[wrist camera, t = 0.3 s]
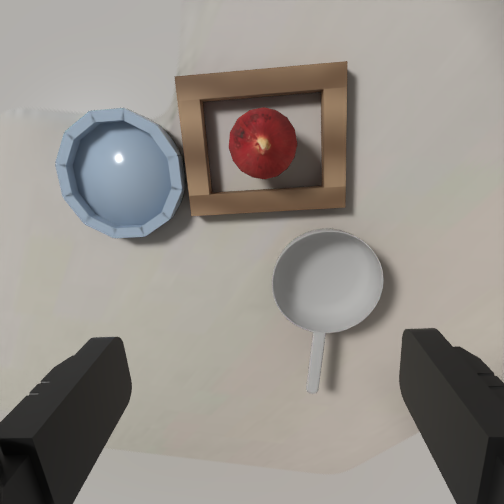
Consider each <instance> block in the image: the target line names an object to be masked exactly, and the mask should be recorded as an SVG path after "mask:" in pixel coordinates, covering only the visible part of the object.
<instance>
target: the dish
mask: <svg viewBox="0 0 504 504" xmlns="http://www.w3.org/2000/svg"><path fill="white" fill-rule="evenodd" d="M55 163H56V164H55V166H56V170H57V174H58V179H59V183H60V187H61V192H62V196H63V197H64V200H65V201H66V202H67V203H68V204H69V206H70V207H71V208H72V209H73V211H74V212H75V213H76V214H77V216H78V217H79V218H80V219H81V221H82V222H83V223H84V224H85V225H87V226H89V227H91V228H93V229H96V230H98V231H100V232H102V233H104V234H106V235H108V236H110V237H112V238H129V237H145V236H147V235H148V234H150V233H151V232H152V231H154V230H155V229H157V228H158V227H160V226H161V225H163V224H164V223H165V222H167V221H168V220H170V219H171V218H173V216H174V214H175V212H176V210H177V209H178V207H179V205H180V203H181V201H182V198H183V195H184V191H185V183H186V176H185V167H184V163H183V159H182V156H181V154H180V152H179V149H178V147H177V146H176V144H175V142H174V141H173V140H172V138H171V137H170V136H169V134H168V133H167V132H166V131H165V130H164V129H163V128H162V127H161V126H160V125H159V124H157V123H155V122H153V121H152V120H150V119H148V118H146V117H144V116H141V115H139V114H137V113H135V112H133V111H131V110H129V109H125V108H117V109H105V110H94V111H89V112H87V113H86V114H85V115H84V116H83V117H81V118H80V119H79V120H78V121H77V122H76V123H74V124H73V125H72V126H71V127H70V128H68V129H67V130H66V131H65V132H64V135H63V138H62V142H61V145H60V149H59V152H58V155H57V159H56V162H55Z"/></svg>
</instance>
